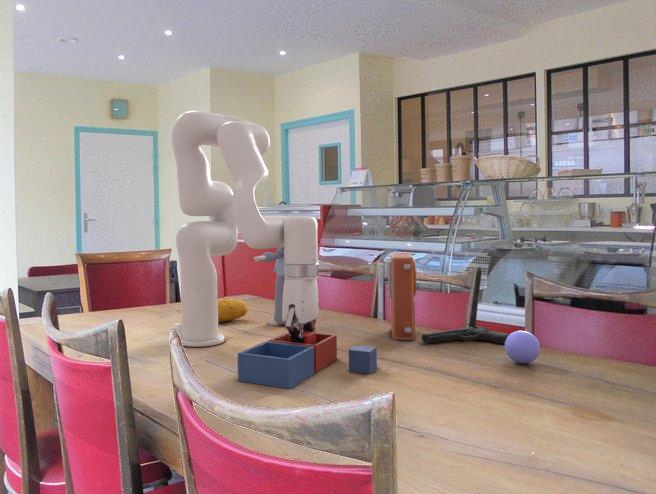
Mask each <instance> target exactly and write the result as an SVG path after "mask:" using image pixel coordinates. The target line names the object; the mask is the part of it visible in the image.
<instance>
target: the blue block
mask: <svg viewBox="0 0 656 494" xmlns="http://www.w3.org/2000/svg"><path fill="white" fill-rule="evenodd" d="M377 352H378V348H377V347H376V346H370V345H369V346H368V345H360V344H359V345H358V344H357V345H354V346H352V347H351V348H349V349H348V372H351V373H357V374H358V373H360V374H365V375H371V374H372V373H374V372H375V371H376V370H377V369H378V353H377Z"/></svg>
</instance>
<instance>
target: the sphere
mask: <svg viewBox="0 0 656 494" xmlns="http://www.w3.org/2000/svg"><path fill="white" fill-rule="evenodd" d="M509 334H510V335H509V336H508V337H507V339H506V341H505V344H504V351H505V353H506V355H507V356H508V358H509V359H511V360H512V361H513V362H515V363H518V364H521V365H522V364H523V365H526V364H531V363H533V362H535V361H536V360H537V359H538V357H539V355H540V352H541V344H540V341H539V339H538V338H537V337H536V336H535V335H534V334H532V333H531V332H529V331H525V330H516V331H513V332H511V333H509Z"/></svg>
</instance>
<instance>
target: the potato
mask: <svg viewBox="0 0 656 494" xmlns="http://www.w3.org/2000/svg"><path fill="white" fill-rule="evenodd" d="M248 312H249V305H248V303H246V301H244V300H241V299H235V298H220V299H218V323H224V322H231V321H235V320H238V319H240V318H242V317H245V316H246V315H247V314H248Z"/></svg>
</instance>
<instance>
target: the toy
mask: <svg viewBox="0 0 656 494" xmlns="http://www.w3.org/2000/svg"><path fill="white" fill-rule="evenodd" d="M253 260H254V262H255V263H258V262H260V261H262V262H263V263H264V264H269V263H272V262H274V263H275V265H274V266H273V273H274V274H276V279H275V281H274V314H273V316H272V317H271V318H270V320H269V325H270V326H285V325H286V323H284V322H283V321H282V302H283V288H284V281H285V272H284V264H285V263H284V247H281V248H276V250H275V252H272V251H271V252H270V251H265V252H263V253H262V255H258V256H253ZM294 323H298V321H294Z"/></svg>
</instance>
